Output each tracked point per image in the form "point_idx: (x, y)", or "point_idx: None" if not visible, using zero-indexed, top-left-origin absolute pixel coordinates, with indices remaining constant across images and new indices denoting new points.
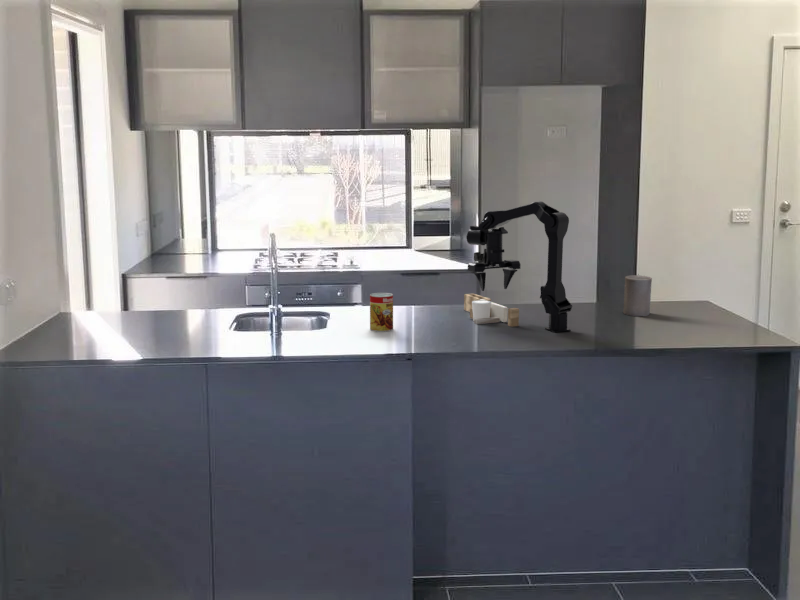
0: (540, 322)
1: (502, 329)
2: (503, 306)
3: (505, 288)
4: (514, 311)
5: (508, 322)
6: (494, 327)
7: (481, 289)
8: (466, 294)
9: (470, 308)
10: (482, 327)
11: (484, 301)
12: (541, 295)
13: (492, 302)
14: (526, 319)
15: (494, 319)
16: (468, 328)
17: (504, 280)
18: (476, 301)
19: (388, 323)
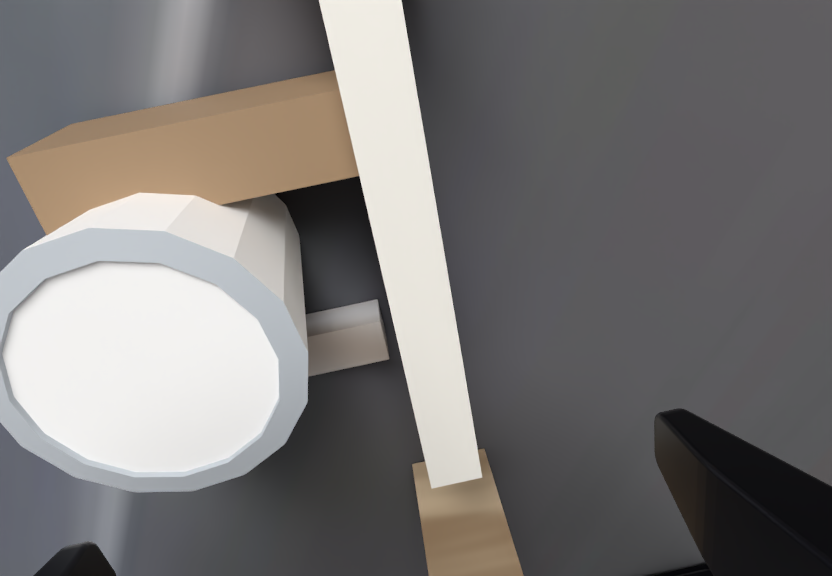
0: (728, 392)
1: (322, 565)
2: (457, 428)
3: (660, 464)
4: None
5: (416, 491)
6: (277, 508)
7: (46, 572)
8: None
9: (15, 173)
10: (172, 500)
11: (205, 345)
12: None
13: (412, 119)
14: (696, 259)
15: (331, 364)
16: (36, 520)
17: (801, 569)
18: (56, 330)
19: None
